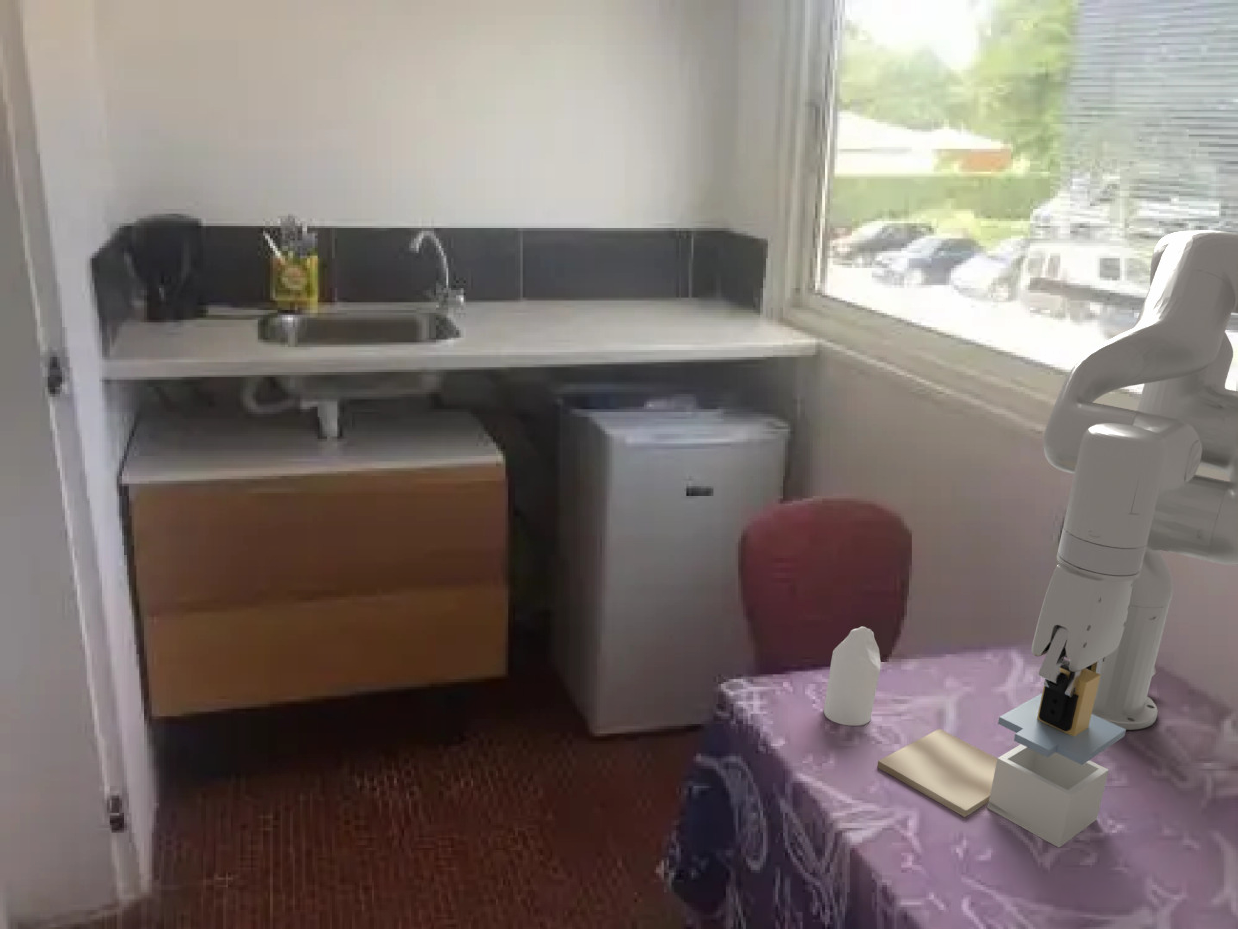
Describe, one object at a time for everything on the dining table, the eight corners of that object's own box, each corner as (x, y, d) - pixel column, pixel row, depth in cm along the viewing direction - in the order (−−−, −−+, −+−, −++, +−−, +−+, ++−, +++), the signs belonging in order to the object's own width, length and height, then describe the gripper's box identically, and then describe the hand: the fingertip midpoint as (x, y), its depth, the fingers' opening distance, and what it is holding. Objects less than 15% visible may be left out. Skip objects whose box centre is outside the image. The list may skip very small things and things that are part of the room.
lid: (1042, 698, 116) (1054, 641, 114) (1124, 736, 110) (1138, 677, 108) (989, 728, 110) (1001, 668, 107) (1073, 770, 103) (1088, 707, 101)
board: (938, 734, 127) (939, 728, 127) (1024, 779, 119) (1025, 773, 119) (877, 767, 119) (878, 760, 119) (964, 817, 111) (966, 810, 111)
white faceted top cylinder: (866, 610, 130) (898, 630, 125) (852, 699, 133) (882, 722, 129) (826, 617, 127) (857, 638, 122) (813, 707, 131) (842, 731, 126)
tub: (1026, 783, 118) (1036, 735, 117) (1096, 819, 113) (1108, 769, 111) (987, 808, 113) (997, 758, 111) (1059, 847, 108) (1071, 796, 106)
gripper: (1102, 524, 112) (1067, 682, 118) (1021, 556, 102) (987, 727, 107) (1175, 548, 107) (1135, 712, 112) (1098, 584, 96) (1058, 762, 102)
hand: (1063, 717), depth 110 cm, fingers closed on lid, 3 cm apart
